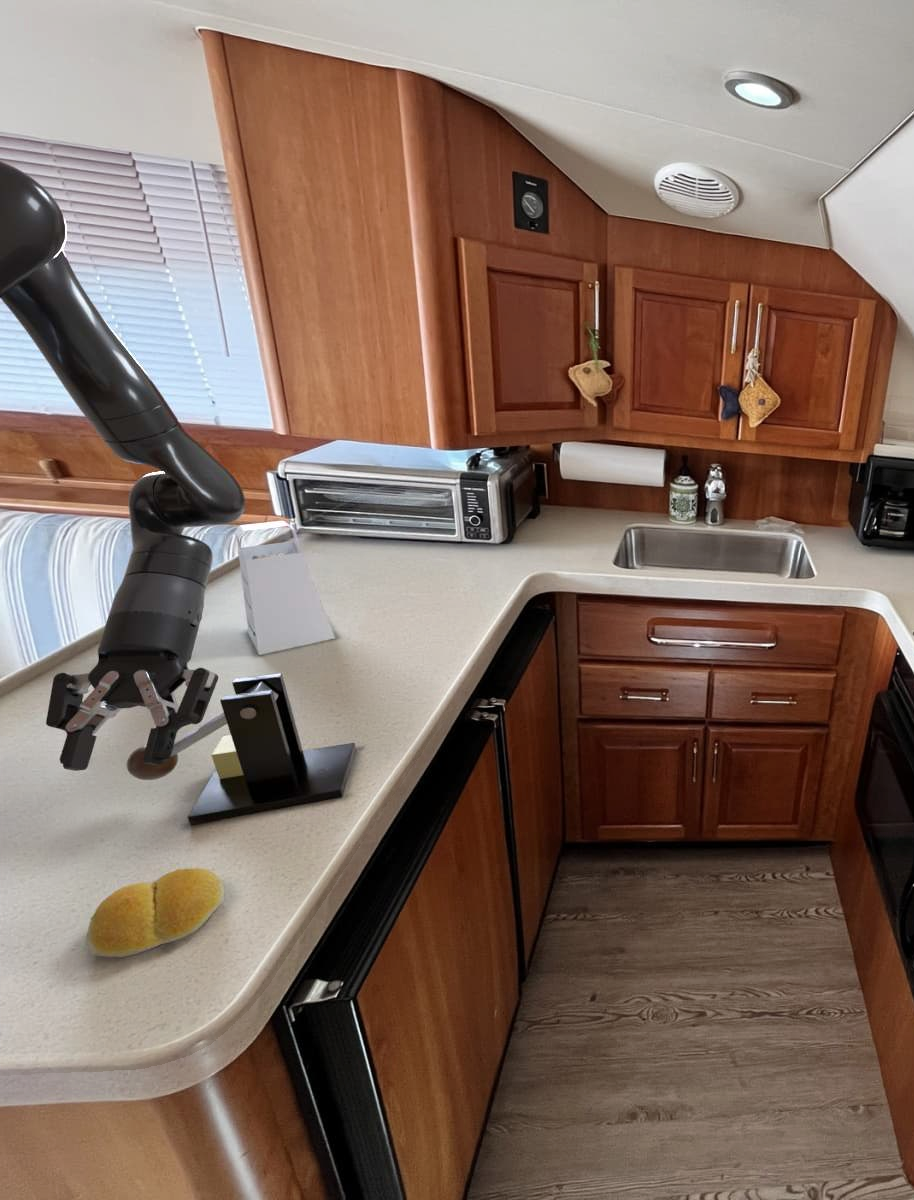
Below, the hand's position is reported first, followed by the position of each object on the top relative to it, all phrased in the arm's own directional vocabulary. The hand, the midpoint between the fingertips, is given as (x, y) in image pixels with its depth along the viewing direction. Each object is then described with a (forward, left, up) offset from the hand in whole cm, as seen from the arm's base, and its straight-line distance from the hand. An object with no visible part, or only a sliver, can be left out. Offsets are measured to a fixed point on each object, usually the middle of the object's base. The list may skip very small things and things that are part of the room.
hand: (114, 766), depth 67 cm
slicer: (+12, +2, -7) cm, 15 cm away
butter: (+8, +6, -6) cm, 12 cm away
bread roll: (+7, -17, -7) cm, 20 cm away
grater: (+4, +47, -7) cm, 48 cm away
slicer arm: (+8, +2, 0) cm, 8 cm away
